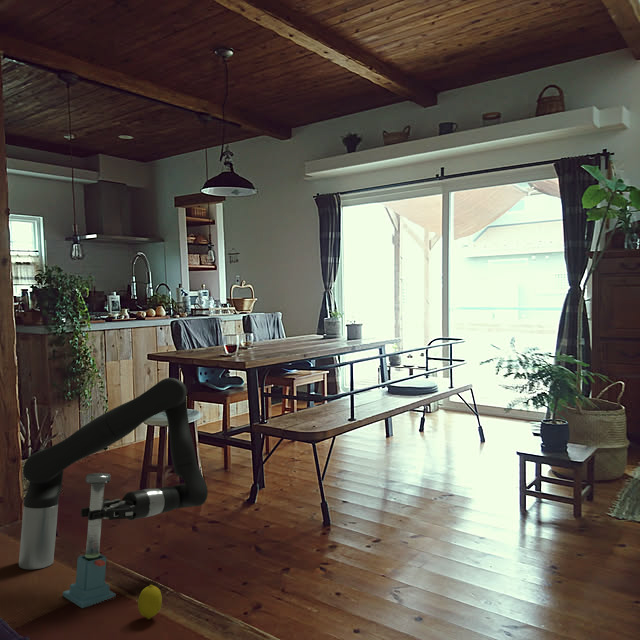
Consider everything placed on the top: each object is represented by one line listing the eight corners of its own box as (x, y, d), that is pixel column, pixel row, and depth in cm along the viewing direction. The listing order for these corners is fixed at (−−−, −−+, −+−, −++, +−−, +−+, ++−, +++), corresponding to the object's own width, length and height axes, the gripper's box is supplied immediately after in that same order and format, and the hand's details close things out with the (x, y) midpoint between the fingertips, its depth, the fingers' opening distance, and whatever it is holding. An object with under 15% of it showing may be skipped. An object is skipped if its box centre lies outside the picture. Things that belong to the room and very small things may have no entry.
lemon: (153, 625, 132) (156, 590, 133) (132, 622, 133) (134, 587, 134) (164, 615, 138) (167, 582, 138) (144, 612, 139) (146, 579, 139)
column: (74, 570, 146) (81, 474, 148) (96, 564, 151) (103, 472, 152) (85, 576, 142) (93, 478, 144) (107, 570, 147) (115, 475, 149)
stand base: (62, 595, 146) (66, 556, 146) (95, 586, 153) (98, 548, 153) (82, 608, 139) (85, 567, 140) (115, 597, 146) (118, 558, 147)
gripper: (130, 485, 163) (72, 494, 150) (159, 494, 154) (100, 505, 141) (128, 511, 163) (70, 523, 149) (157, 522, 154) (97, 535, 140)
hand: (85, 514), depth 145 cm, fingers closed on column, 3 cm apart
